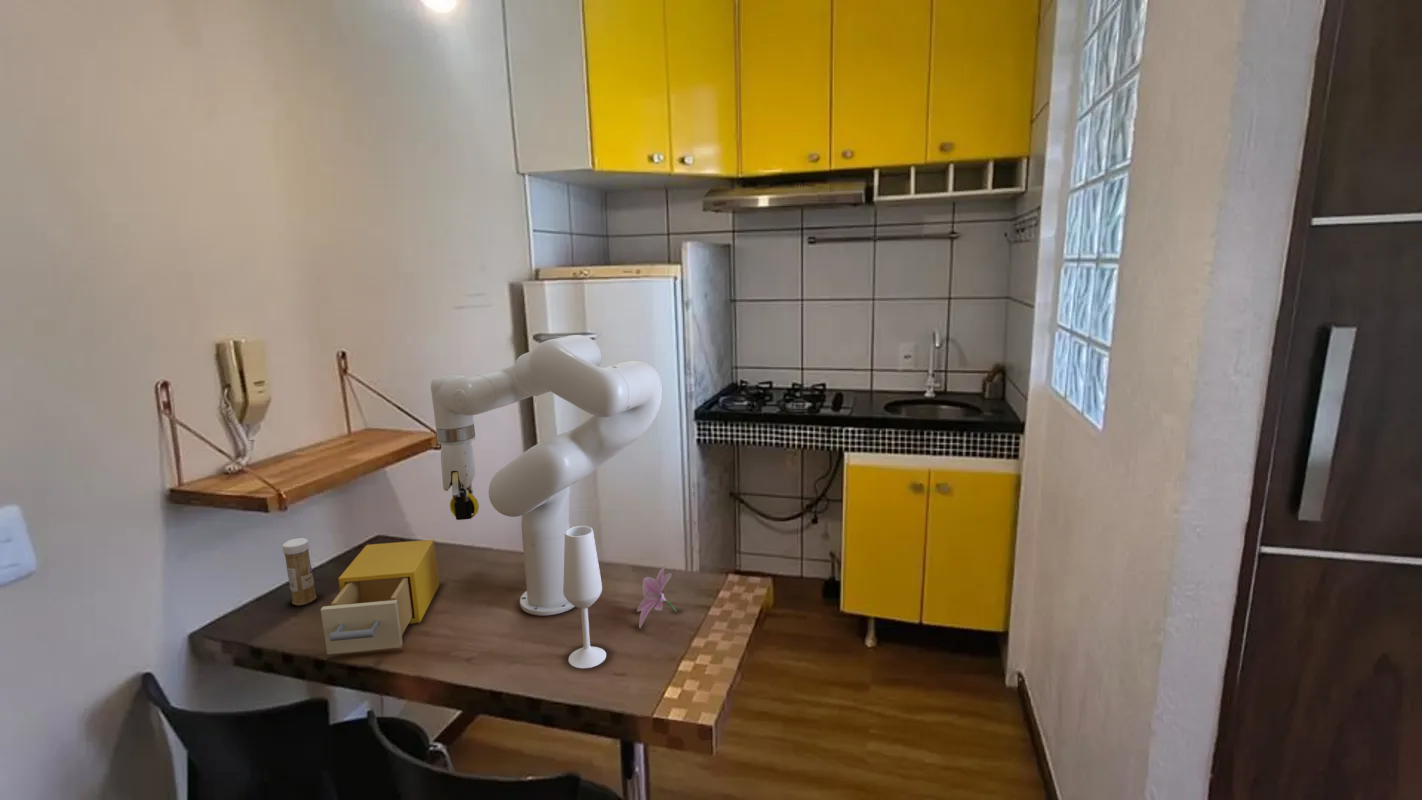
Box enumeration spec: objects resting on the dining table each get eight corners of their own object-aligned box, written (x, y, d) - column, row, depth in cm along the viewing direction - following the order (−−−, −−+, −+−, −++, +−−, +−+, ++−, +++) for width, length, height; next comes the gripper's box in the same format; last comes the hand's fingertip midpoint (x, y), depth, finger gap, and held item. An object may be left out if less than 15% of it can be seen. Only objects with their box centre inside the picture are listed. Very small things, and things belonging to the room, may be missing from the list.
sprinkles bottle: (317, 602, 142) (308, 542, 139) (292, 608, 140) (282, 548, 137) (316, 593, 146) (307, 535, 143) (291, 599, 143) (281, 540, 141)
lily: (649, 600, 142) (626, 568, 138) (699, 584, 138) (676, 552, 135) (639, 646, 132) (613, 613, 128) (691, 631, 128) (667, 597, 124)
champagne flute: (599, 669, 117) (590, 540, 112) (562, 666, 118) (552, 538, 113) (611, 648, 123) (604, 524, 118) (576, 645, 124) (567, 522, 119)
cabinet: (420, 622, 133) (413, 572, 131) (345, 629, 131) (338, 578, 129) (439, 585, 148) (434, 539, 146) (373, 591, 147) (366, 544, 144)
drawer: (393, 661, 119) (387, 615, 117) (316, 669, 117) (309, 622, 115) (422, 607, 137) (417, 567, 135) (356, 613, 135) (350, 572, 133)
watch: (481, 516, 147) (479, 490, 145) (475, 521, 144) (472, 494, 143) (456, 515, 148) (453, 489, 146) (449, 520, 145) (446, 494, 144)
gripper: (446, 426, 149) (456, 505, 153) (427, 445, 134) (438, 532, 137) (481, 423, 150) (490, 502, 154) (466, 442, 135) (476, 528, 138)
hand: (465, 515), depth 146 cm, fingers closed on watch, 2 cm apart
